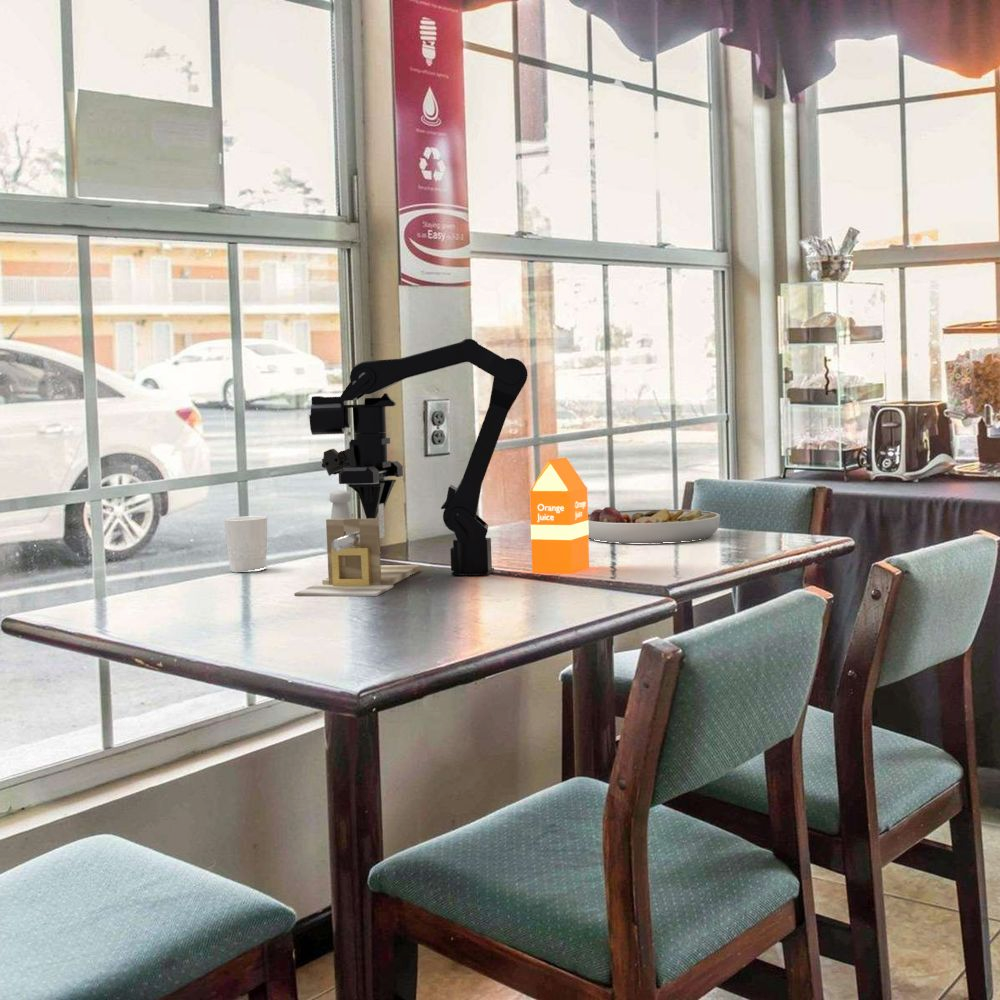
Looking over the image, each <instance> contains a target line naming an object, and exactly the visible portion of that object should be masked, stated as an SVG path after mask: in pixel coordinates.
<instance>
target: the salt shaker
mask: <svg viewBox="0 0 1000 1000" xmlns="http://www.w3.org/2000/svg"><path fill="white" fill-rule="evenodd" d="M328 499H329V501H330V503H332V505H331V506H332V507H331V512H330V513H331V514H330V519H352V518H351V513H350V509H349V504H348V503H349V502H351V493H350V491H348V490H344V489H343V490H342V489H340V490H333V491H331V492H329V498H328ZM353 533H355V532H346V536H347V535H350V534H353ZM352 547H355V545H354V546H352Z"/></svg>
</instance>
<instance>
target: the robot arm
mask: <svg viewBox="0 0 1000 1000" xmlns="http://www.w3.org/2000/svg"><path fill="white" fill-rule="evenodd" d="M463 363H464V364H465V363H470V364H471V365H474V367H476V368H479V369H480V370H482V371H484V372H485V373H487V374H489V375H491V376H492V377H493V380H492V386H491V393H490V398H489V404H488V408H487V411H486V413H485V416H484V417H483V418H484V419H483V421H482V424H481V427H480V430H479V431H478V432H479V433H478V436H477V438H476V441H475V443H474V446H473V449H472V452H471V454H470V457H469V460H468V463H467V465H466V468H465V471H464V474H463V476H462V479H461V480H460V483H459V484H458V486H457V487H456V486H455V485H453V484H450V485H449V487H448V489H447V493H446V494H447V495H446V500H445V502H444V503H443V504H442V505H441V507H440V509H441V510H443V513H442V519H443V522H444V523H443V524H444V525H445V527H446V528H447V529H448V530H450V531H452V532H453V533H454V535H455V539H453V540H452V545H453V546H452V547H451V548H450V570H451V576H488V575H490V574H491V573H493V572H494V571H495V567H493V566H492V563H493V561H492V537H487V534H488V531H489V530H488V529H489V525H488V523H486V521H485V520H484V519H482V518H481V517H480V516H479V515H478V514H477V513H478V507H479V503H480V496H481V493H482V492H481V491H482V484H483V482H484V479H485V477H486V474H487V471H488V468H489V466H490V462H491V460H492V457H493V454H494V451H495V449H496V447H497V445H498V444H497V443H498V440H499V438H500V435H501V433H502V430H503V427H504V424H505V422H506V419H507V417H508V413H509V412H510V410H511V409H512V407H513V405H514V403H515V401H516V400H517V398H518V397H519V394H520V393H521V391H522V390H523V387H524V386H525V384H526V383H527V380H528V369H527V367H526V365H525V364H524V363H523V362H522V361H521V360H519V359H517V358H513V357H511V358H510V357H509V358H504V357H502V356H500V355H499V354H497V353H495V352H494V351H492V350H490V349H488V348H486V347H484V346H483V345H481V344H479V343H478V341H477V340H475V339H473V338H465V339H463V340H462V341H459V342H456V343H453V344H452V343H451V344H447V345H445V346H441V347H438V348H435V349H429V350H427V351H422V352H419V353H414V354H412V355H407V356H404V357H401V358H391V359H389V358H388V359H378V360H377V359H375V360H367V361H360V362H359V363H356V364H355V365H354V366H353V368H352V369H351V371H350V375H349V381H350V382H349V383H348V385H347V386H346V387H345V389H344V390H343V391H342V393H341V395H340V396H326V397H325V396H321V395H320V396H319V395H318V396H311V403H310V414H309V428H310V433H311V435H313V436H315V435H316V436H318V435H342V434H344V435H345V432H346V429H350V428H351V421H352V419H351V418H353V422H352V423H353V439H350V441H349V443H348V446H349V447H348V448H347V449H345V450H341V451H339V452H338V451H337V450H336V449H335V448H329V449H328V450H325V451H323V458H322V459H321V462H322V464H321V467H322V468H324V469H326V472H327V474H328V476H329V477H331V476H332V475H333V476H336V475H338V484H339V485H347V486H348V487H349V488H351V489H352V490H353V491H355V492H356V493H357V495H358V497H359V499H360V502H361V507H362V506H363V509H364V512H365V515H366V518H367V519H375V517H376V513H377V510H378V506H379V503H384V508H385V507H386V504H387V502H388V500H389V497H390V494H391V492H392V490H393V487H394V485H395V484H396V482H397V479H389V477H396V478H399V477H400V478H401V477H404V472H403V464H401V463H400V462H399V461H398V460H393V461H392V460H388V445H389V444H391V438H390V437H387V421H386V419H387V416H386V408H387V407H395V406H396V405H397V402H396V401H394V400H393V399H392V398H391V397H390V396H389V394H388V393H387V392H385V393H383V395H382V396H380V397H365V398H364V403H362V404H348V401H358V400H360V399H361V398H362V397H363V396H365V395H374V394H377V393H379V392H381V391H383V390H386V389H388V388H389V387H392V386H395V385H396V384H398V383H400V382H402V381H405V380H406V379H409V378H413V377H416V376H417V377H418V376H420V375H423V374H427V373H432V372H435V371H439V370H442V369H443V370H444V369H445V368H446V369H447V368H449V367H450V368H451V367H453V366H457V365H461V364H463ZM351 409H352V414H351ZM351 415H352V417H351Z"/></svg>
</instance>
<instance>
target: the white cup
mask: <svg viewBox="0 0 1000 1000" xmlns="http://www.w3.org/2000/svg"><path fill="white" fill-rule="evenodd" d="M224 527H225V529H224V530H225V539H226V548H227V557H228V558H229V559H228V561H229V564H228V565H229V571H230V572H231V573H237V572H242V571H248V570H255V569H260V568H264V567H266V568H267V554H268V552H267V551H268V517H267V516H264V515H263V516H262V515H247V516H234V517H228V518H227V517H226V518H224ZM237 574H238V573H237Z"/></svg>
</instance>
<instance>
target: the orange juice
mask: <svg viewBox="0 0 1000 1000" xmlns="http://www.w3.org/2000/svg"><path fill="white" fill-rule="evenodd" d="M529 499H530V500H529V501H530V503H529V504H530V507H529V508H530V540H531V568H532V569H531V570H532V573H533V574H535V573H536V574H558V575H559V574H561V575H562V574H563V575H569V574H570V575H572V574H575V573H578V572H581V571H583V570H586V569H589V568H590V552H589V551H590V548H589V547H590V545H589V541H590V539H589V537H588V534H589V527H588V514H589V507H588V505H589V503H588V487H587V486H586V485H585V483H584V482H583V479H581V477H580V476H579V474H578V473H577V471H576V469H575V468H574V466H573V465H572V464H571V462H570V461H569V459H568V457H567V456H565V457H560V458H559V457H558V458H553V459H549V460H548V461H547V462H546V464H545V466H544V467H543V469H542V471H541V473H539V476H537V479H536V481H535V482H534V484H533V485H532V487H531V488H530V490H529Z"/></svg>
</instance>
